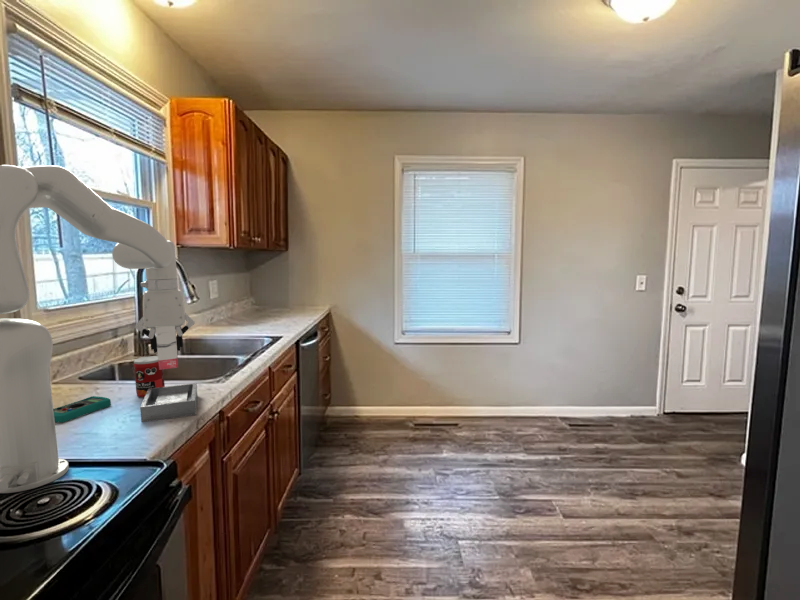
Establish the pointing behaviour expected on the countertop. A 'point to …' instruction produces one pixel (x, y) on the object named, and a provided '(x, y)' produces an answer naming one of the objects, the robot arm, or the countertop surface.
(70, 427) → the countertop surface
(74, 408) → the digital multimeter
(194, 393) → the grey rimmed tray
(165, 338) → the ink box
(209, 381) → the countertop surface
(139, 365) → the canned food
